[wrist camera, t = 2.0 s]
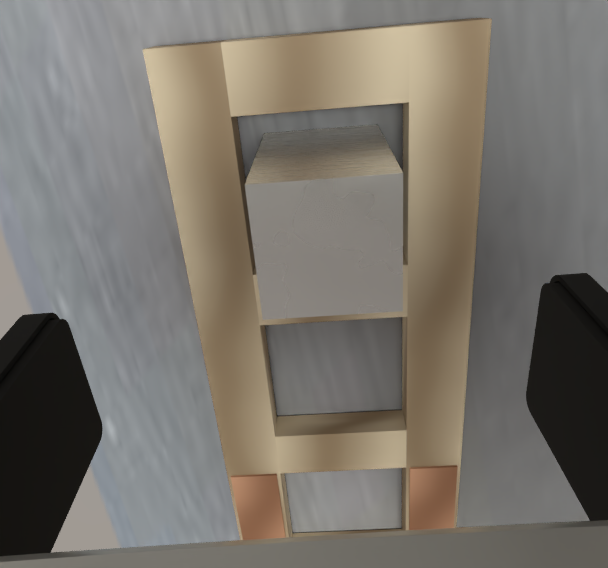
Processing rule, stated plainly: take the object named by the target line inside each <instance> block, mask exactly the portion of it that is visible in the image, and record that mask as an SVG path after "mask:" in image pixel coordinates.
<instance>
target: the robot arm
mask: <svg viewBox="0 0 608 568" xmlns="http://www.w3.org/2000/svg"><path fill="white" fill-rule="evenodd" d="M526 399H527V405H528V408H529V411H530V413H531V415H532V416H533V418H534V420H535V422H536V424H537V426H538V427H539V429H540V431H541V433H542V435H543V436H544V438H545V440H546V442H547V444H548V445H549V447H550V449H551V451H552V453H553V454H554V456H555V458H556V460H557V462H558V463H559V465H560V467H561V469H562V471H563V472H564V474H565V476H566V478H567V480H568V482H569V483H570V485H571V487H572V489H573V491H574V492H575V494H576V496H577V498H578V500H579V501H580V503H581V505H582V507H583V509H584V510H585V512H586V514H587V516H588V518H589V519H590V521H579V522H553V523H533V524H515V525H497V526H479V527H460V528H442V529H424V530H405V531H387V532H371V533H354V534H337V535H320V536H303V537H287V538H270V539H254V540H238V541H222V542H205V543H190V544H175V545H159V546H144V547H129V548H115V549H101V550H100V549H99V550H84V551H70V552H54V553H50V552H51V550H52V548H53V546H54V543H55V541H56V539H57V537H58V534H59V532H60V530H61V528H62V525H63V523H64V521H65V519H66V516H67V514H68V512H69V510H70V508H71V505H72V503H73V501H74V498H75V496H76V494H77V492H78V490H79V487H80V485H81V483H82V481H83V478H84V476H85V474H86V472H87V469H88V467H89V465H90V463H91V460H92V458H93V456H94V454H95V452H96V449H97V447H98V445H99V443H100V440H101V437H102V422H101V419H100V416H99V413H98V410H97V407H96V404H95V401H94V398H93V395H92V392H91V389H90V386H89V383H88V380H87V377H86V374H85V371H84V368H83V365H82V362H81V359H80V356H79V353H78V350H77V347H76V345H75V342H74V339H73V336H72V333H71V330H70V327H69V324H68V322H67V321H66V320H64V319H59V317H58V316H57V315H56V314H54V313H42V314H29V315H23V316H22V317H20V318H19V319H18V320H17V321H16V322H15V324H14V325H13V326H12V327H11V328H10V330H9V331H8V332H7V333H6V334H5V335H4V336H3V338H2V339H1V340H0V568H608V293H607V292H606V291H605V290H604V289H603V288H602V287H601V286H600V285H599V284H598V283H597V282H596V281H595V280H594V279H593V278H592V277H591V276H590V275H588V274H587V273H580V274H567V275H555V276H554V277H552V279H551V281H550V283H545V284H544V285H543V286H542V289H541V294H540V301H539V308H538V315H537V322H536V329H535V336H534V343H533V350H532V357H531V363H530V370H529V377H528V384H527V391H526Z"/></svg>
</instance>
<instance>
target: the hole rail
mask: <svg viewBox="0 0 608 568" xmlns="http://www.w3.org/2000/svg"><path fill="white" fill-rule="evenodd" d="M491 21H492V19H489V18H472V19H460V20H449V21H438V22H426V23H415V24H404V25H392V26H381V27H370V28H358V29H347V30H336V31H324V32H313V33H301V34H290V35H279V36H267V37H256V38H245V39H233V40H222V41H211V42H199V43H188V44H176V45H165V46H154V47H150V48H146V49H143V53H144V58H145V63H146V68H147V74H148V79H149V84H150V89H151V94H152V99H153V104H154V109H155V114H156V119H157V124H158V129H159V134H160V139H161V144H162V149H163V154H164V159H165V164H166V169H167V174H168V179H169V184H170V189H171V194H172V199H173V204H174V209H175V214H176V219H177V224H178V229H179V234H180V239H181V244H182V249H183V254H184V259H185V264H186V269H187V274H188V279H189V284H190V289H191V294H192V299H193V304H194V309H195V314H196V320H197V325H198V330H199V335H200V340H201V345H202V350H203V355H204V360H205V365H206V370H207V375H208V380H209V385H210V390H211V395H212V400H213V405H214V410H215V415H216V420H217V425H218V430H219V435H220V440H221V445H222V450H223V455H224V460H225V465H226V470H227V475H228V480H229V485H230V490H231V495H232V500H233V505H234V510H235V515H236V520H237V525H238V530H239V535H240V540H254V539H270V538H287V537H303V536H320V535H337V534H354V533H371V532H387V531H405V530H424V529H442V528H456V523H457V509H458V495H459V480H460V466H461V452H462V437H463V423H464V409H465V394H466V380H467V366H468V351H469V337H470V323H471V308H472V294H473V280H474V265H475V251H476V237H477V222H478V208H479V194H480V179H481V165H482V150H483V136H484V122H485V107H486V93H487V79H488V64H489V50H490V36H491ZM395 103H403V311H399V312H383V313H366V314H350V315H334V316H317V317H301V318H285V319H269V320H263V318H262V311H261V303H260V296H259V288H258V281H257V273H256V266H255V258H254V251H253V243H252V236H251V229H250V221H249V214H248V206H247V199H246V191H245V183H246V180H245V173H244V165H243V158H242V150H241V143H240V135H239V128H238V120H237V116H246V115H259V114H271V113H283V112H296V111H308V110H321V109H333V108H345V107H358V106H370V105H383V104H395ZM392 317H402V410H392V411H373V412H354V413H335V414H315V415H296V416H277V413H276V406H275V398H274V391H273V383H272V376H271V368H270V361H269V353H268V346H267V338H266V331H265V325H277V324H293V323H310V322H326V321H343V320H359V319H376V318H392ZM386 468H402V529H385V530H360V531H336V532H311V533H292V526H291V519H290V511H289V504H288V496H287V489H286V481H285V474H284V473H300V472H322V471H343V470H364V469H386Z"/></svg>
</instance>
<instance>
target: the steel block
mask: <svg viewBox="0 0 608 568" xmlns="http://www.w3.org/2000/svg"><path fill="white" fill-rule="evenodd" d="M245 191H246V199H247V206H248V214H249V221H250V229H251V236H252V243H253V251H254V258H255V266H256V273H257V281H258V288H259V296H260V303H261V311H262V318H263V320H269V319H285V318H301V317H317V316H334V315H350V314H366V313H383V312H399V311H403V172H402V170H401V168H400V166H399V164H398V162H397V160H396V159H395V157H394V155H393V153H392V151H391V149H390V147H389V145H388V144H387V142H386V140H385V138H384V136H383V134H382V132H381V130H380V129H379V127H378V125H377V124H375V125H362V126H349V127H337V128H324V129H311V130H299V131H286V132H273V133H264V135H263V138H262V141H261V143H260V146H259V149H258V151H257V154H256V156H255V159H254V162H253V164H252V167H251V169H250V172H249V175H248V177H247V180H246V183H245Z"/></svg>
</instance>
